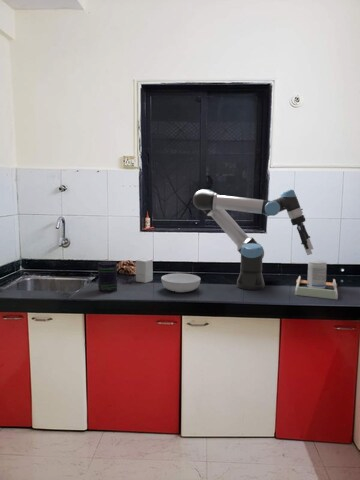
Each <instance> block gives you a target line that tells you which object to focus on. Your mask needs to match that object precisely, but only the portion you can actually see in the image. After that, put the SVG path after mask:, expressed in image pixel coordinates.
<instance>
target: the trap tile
mask: <svg viewBox="0 0 360 480" xmlns="http://www.w3.org/2000/svg"><path fill="white" fill-rule="evenodd" d="M297 281H298V279H296V281H295V283H296V284H297ZM307 282H308V279H307V280H305V279H300V284H303V285H304V284H306V285H307ZM326 287H333V282H330V281H329V282H328V281H326ZM336 287H338V283H336Z"/></svg>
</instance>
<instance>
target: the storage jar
mask: <svg viewBox="0 0 360 480" xmlns="http://www.w3.org/2000/svg"><path fill="white" fill-rule="evenodd" d="M97 273H98V281H97V282H98V283H97V286H98V293H102V294H112V293H115V292H116V293H117V291H118V279H117V277H118V275H117V274H118V262H117V261H115V260H103V261H98V262H97Z"/></svg>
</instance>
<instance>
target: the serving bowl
mask: <svg viewBox="0 0 360 480" xmlns="http://www.w3.org/2000/svg"><path fill="white" fill-rule="evenodd" d="M160 279H161V283H162V286H163V287H164V288H165V289H166V290H169V291H172V292H174V291H175V292H174V293H187V292H192V291H194V290H196V289H197V288H198V287H199V285H200V284H201V277H200V276H198V275H197V274H193V273H192V274H191V273H179V272H178V273H168V274H165V275H162V276H161V278H160Z"/></svg>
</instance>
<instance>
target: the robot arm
mask: <svg viewBox="0 0 360 480" xmlns="http://www.w3.org/2000/svg"><path fill="white" fill-rule="evenodd" d="M192 201H193V202H192V203H193V205H194V207H195V208H196V209H197V210H201V211H203V212H204V214H205V215H206V216H207V217H211V218H212V220H214V221H215V222H216V224H217V225H218V226H219V227H220V228H221V229H222V231H223V232H224V233H225V234H226V235H227V237H229V238H230V240H231V241H232V242H233V243H234V244H235V246H236V247H237V252H238V253H239V254H240V272H239V275H238V277H237V280H236V287H238V288H239V289H240V290H241V289H242V290H249V291H258V290H263V289H264V288H265V281H264V277H263V273H262V272H263V259H264V256H265V250H264V247H263V246H262V245H261V244H260V243H258V242H257V241H256V239H254V237H251V236H248V234H247V233H246V232H245V231H244V230H243V229H242V228H241V226H240V225H239V224H238V222H236V221H235V219H233V217H232V216H231V215H230V214H229V212H227V211H235V212H243V213H250V214H252V213H253V214H260V215H265V217H270V216H272V217H273V216H274V217H275V216H276V215H278V214H279V213H280V212H283V211H287V212H286V213H287V215H288V217H289V219H290V222H291V225H292V226H296V230H297V232H298V235H299V238H300V241H301V243H300V244H301V245H302V246H303V248H304V250H305V253H306V255H307V256H309V255H312V254H313V251H312V250H314V247H313V244H312V242H311V236H310V235H309V234H308V232H307V229H306V227H305V226H306V225H305V224H304V223H305V222H306V218H305V215H304V214H303V213H304V212H303V210H304V209H303V208H301V206H300V201H299V200H298V196H297V194H296V192H295V190H293V189H289V190H287V191H284V192H281V193H280V197H278V198H276V199H272V200H268V199H267V200H266V199H265V200H264V199H257V198H249V197H241V196H231V195H222V194H221V195H220V194H218V193H217V192H214V191H213V190H211V189H200V190H199V189H198V191H196V192H195V193H194V195H193V197H192Z"/></svg>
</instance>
